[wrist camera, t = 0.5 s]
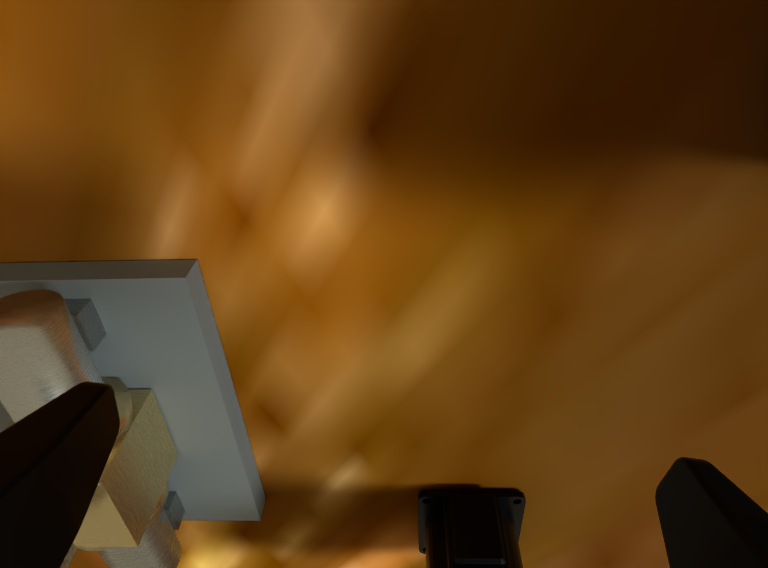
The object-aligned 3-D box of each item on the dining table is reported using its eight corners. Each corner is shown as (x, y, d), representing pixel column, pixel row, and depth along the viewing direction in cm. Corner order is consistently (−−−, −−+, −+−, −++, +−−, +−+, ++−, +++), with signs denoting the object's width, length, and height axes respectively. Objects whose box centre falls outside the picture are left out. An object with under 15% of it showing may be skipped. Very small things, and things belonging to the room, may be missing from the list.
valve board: (266, 498, 33) (260, 520, 32) (26, 497, 34) (11, 519, 33) (197, 259, 23) (185, 277, 22) (-140, 266, 24) (-170, 284, 23)
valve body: (207, 519, 32) (167, 635, 27) (125, 518, 33) (70, 634, 27) (108, 277, 22) (14, 387, 17) (-8, 280, 23) (-136, 388, 17)
